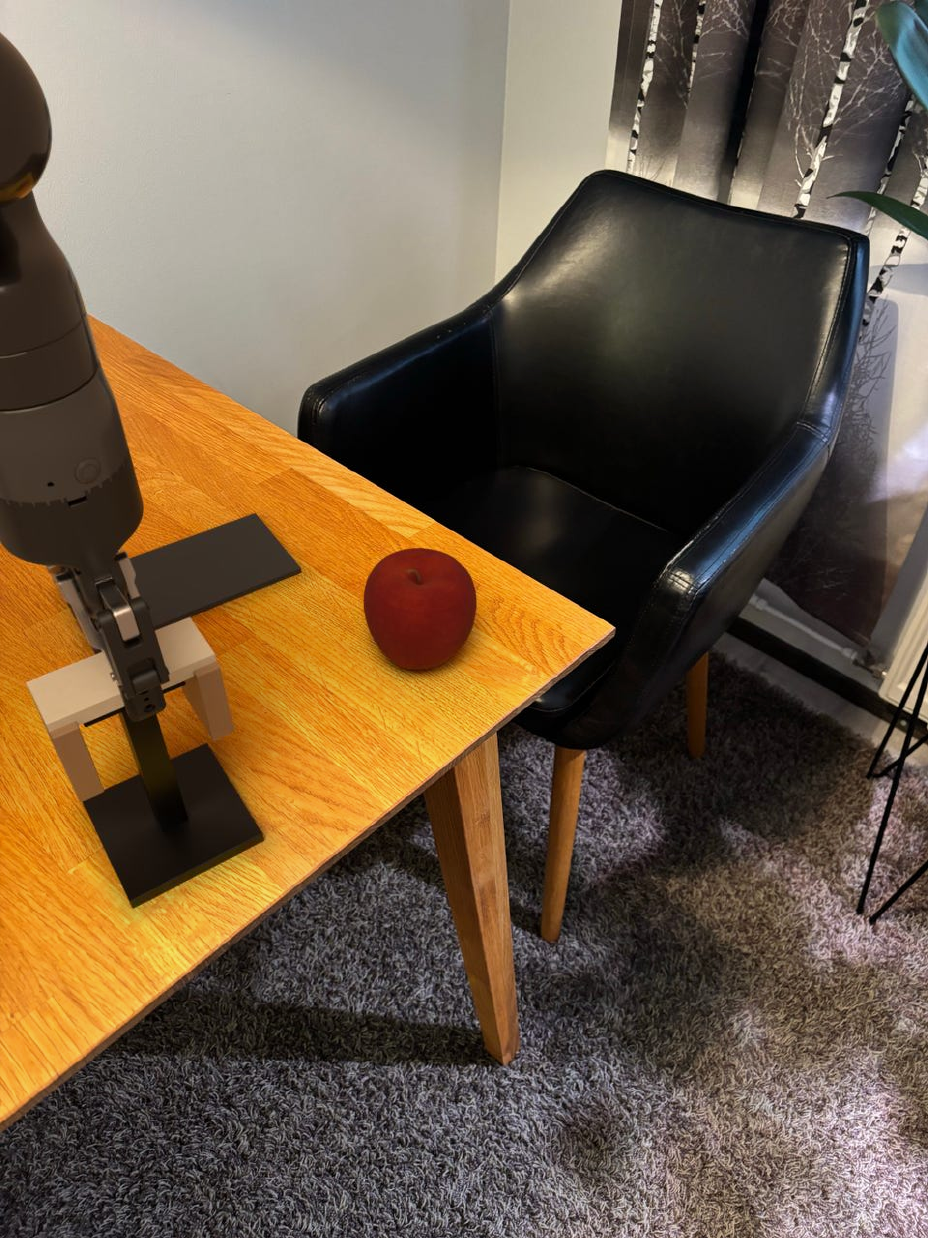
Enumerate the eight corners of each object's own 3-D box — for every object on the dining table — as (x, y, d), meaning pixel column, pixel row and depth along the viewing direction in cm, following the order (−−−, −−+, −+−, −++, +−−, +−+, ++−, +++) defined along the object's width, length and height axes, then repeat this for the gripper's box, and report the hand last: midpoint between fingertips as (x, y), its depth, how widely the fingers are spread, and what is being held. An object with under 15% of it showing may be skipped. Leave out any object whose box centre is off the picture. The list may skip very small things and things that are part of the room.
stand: (132, 909, 67) (72, 769, 56) (84, 807, 73) (21, 663, 62) (264, 840, 71) (233, 698, 60) (209, 750, 77) (171, 604, 66)
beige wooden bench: (80, 803, 61) (49, 731, 56) (54, 748, 64) (22, 675, 59) (235, 732, 66) (218, 659, 61) (204, 683, 69) (186, 611, 64)
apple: (426, 599, 90) (426, 514, 83) (497, 655, 85) (503, 570, 78) (345, 647, 85) (337, 561, 78) (415, 709, 81) (414, 624, 74)
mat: (95, 654, 84) (93, 650, 84) (59, 589, 90) (57, 584, 89) (301, 572, 92) (301, 567, 92) (256, 517, 98) (255, 512, 98)
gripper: (-64, 407, 51) (27, 624, 63) (14, 555, 43) (103, 774, 54) (77, 368, 54) (139, 581, 66) (175, 499, 46) (226, 717, 58)
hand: (122, 668), depth 60 cm, fingers open, 8 cm apart
